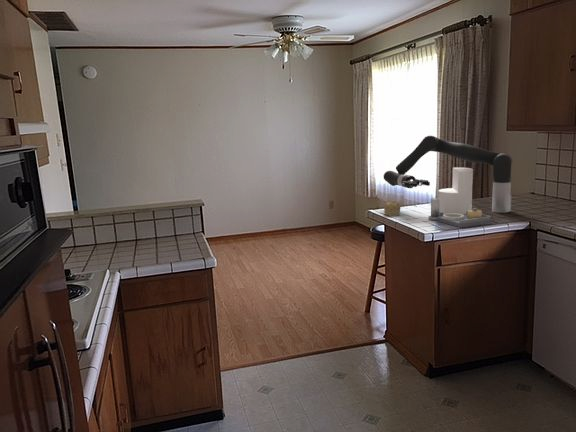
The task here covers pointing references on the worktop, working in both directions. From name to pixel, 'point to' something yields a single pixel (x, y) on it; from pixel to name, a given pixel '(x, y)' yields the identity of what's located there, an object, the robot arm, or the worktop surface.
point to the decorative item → (392, 208)
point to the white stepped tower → (457, 193)
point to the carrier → (466, 218)
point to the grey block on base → (434, 209)
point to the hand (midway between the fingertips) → (422, 184)
